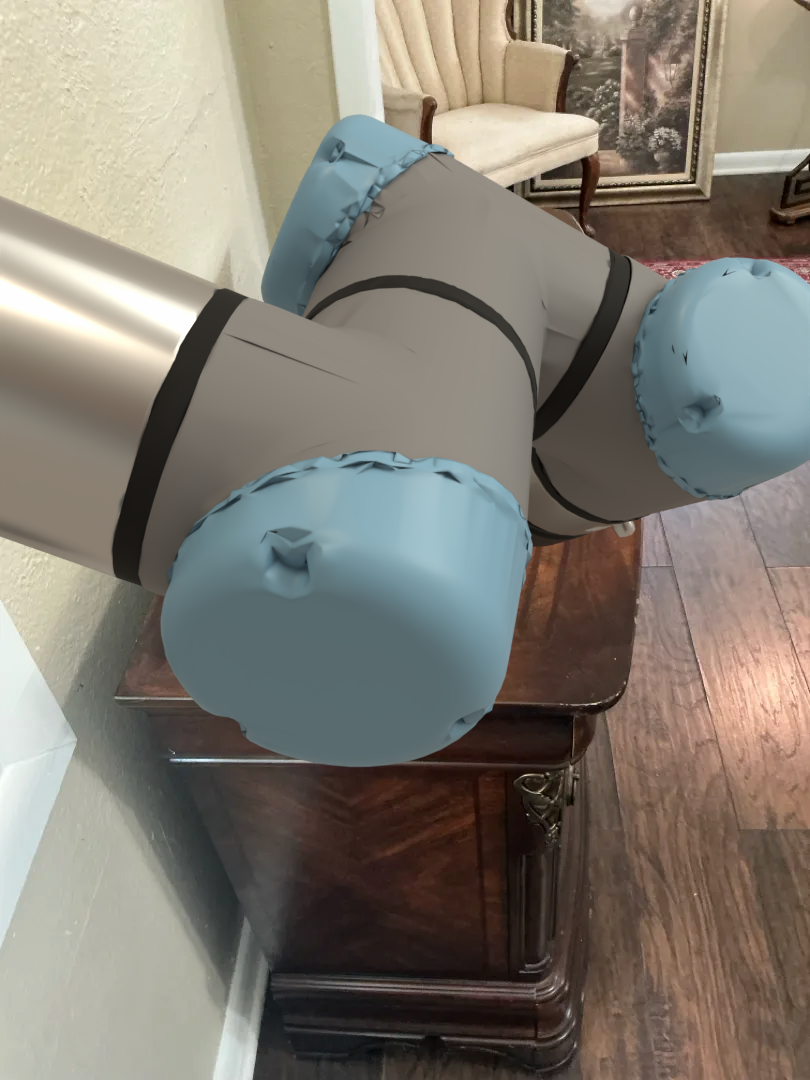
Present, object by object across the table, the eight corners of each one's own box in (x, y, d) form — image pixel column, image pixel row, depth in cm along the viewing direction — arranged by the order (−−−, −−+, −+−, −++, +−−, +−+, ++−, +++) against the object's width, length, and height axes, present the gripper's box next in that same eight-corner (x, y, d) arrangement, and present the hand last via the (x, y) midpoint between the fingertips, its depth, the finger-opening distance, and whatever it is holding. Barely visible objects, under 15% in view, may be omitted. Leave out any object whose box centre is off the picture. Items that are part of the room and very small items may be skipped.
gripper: (362, 637, 38) (294, 644, 59) (785, 445, 46) (594, 510, 66) (296, 481, 38) (250, 542, 59) (728, 315, 46) (555, 420, 66)
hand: (432, 525), depth 62 cm, fingers open, 13 cm apart
